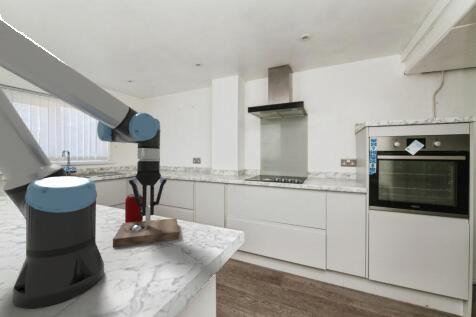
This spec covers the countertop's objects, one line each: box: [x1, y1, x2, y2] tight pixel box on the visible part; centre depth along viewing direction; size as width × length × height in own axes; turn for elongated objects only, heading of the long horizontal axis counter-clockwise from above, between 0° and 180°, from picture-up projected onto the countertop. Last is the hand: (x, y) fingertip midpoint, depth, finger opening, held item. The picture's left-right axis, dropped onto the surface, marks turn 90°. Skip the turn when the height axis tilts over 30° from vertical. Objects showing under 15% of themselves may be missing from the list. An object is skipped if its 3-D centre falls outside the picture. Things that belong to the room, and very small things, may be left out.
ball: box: [131, 225, 142, 231], centre depth 72 cm, size 4×4×4 cm
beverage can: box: [124, 193, 144, 223], centre depth 85 cm, size 7×7×12 cm
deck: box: [112, 217, 180, 248], centre depth 74 cm, size 20×16×2 cm
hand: (148, 224), depth 73 cm, fingers closed
